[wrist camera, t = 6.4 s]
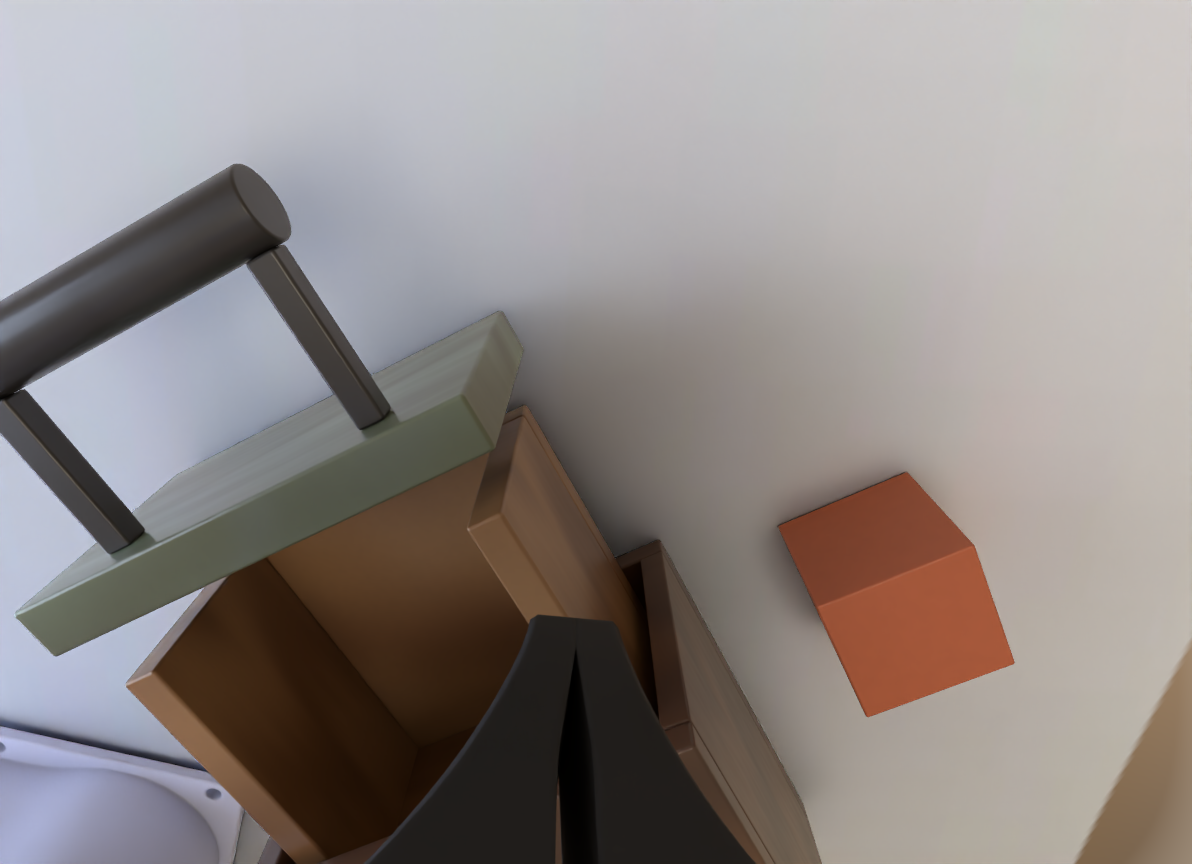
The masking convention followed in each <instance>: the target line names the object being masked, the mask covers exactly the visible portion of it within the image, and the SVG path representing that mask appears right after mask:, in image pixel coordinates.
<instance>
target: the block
mask: <svg viewBox="0 0 1192 864" xmlns="http://www.w3.org/2000/svg"><path fill="white" fill-rule="evenodd" d="M778 528H779V530H780V533H781V535H782V537H783V539H784V541H785V543H786V545H787V548H788V550H789V552H790V554H791V556H792V558H793V561H794V563H795V565H796V567H797V569H798V571H799V574H800V576H801V578H802V580H803V582H804V584H805V586H806V589H807V591H808V593H809V595H810V597H811V599H812V602H813V604H814V606H815V608H816V610H817V612H818V615H819V617H820V619H821V621H822V623H823V625H824V627H825V630H826V632H827V634H828V636H829V638H830V640H831V642H832V645H833V647H834V649H835V651H836V653H837V655H838V657H839V660H840V662H841V664H842V666H843V668H844V670H845V672H846V674H847V677H848V679H849V681H850V683H851V685H852V687H853V689H854V692H855V694H856V696H857V698H858V700H859V702H860V704H861V707H862V709H863V711H864V713H865V715H866V716H867V717H870V716H873V715H876V714H878V713H881V712H884V711H887V710H889V709H892V708H895V707H898V706H900V705H903V704H906V703H908V702H911V701H914V700H917V699H919V698H922V697H925V696H928V695H930V694H933V693H936V692H939V691H941V690H944V689H947V688H949V687H952V686H955V685H958V684H960V683H963V682H966V681H969V680H971V679H974V678H977V677H980V676H982V675H985V674H988V673H990V672H993V671H996V670H999V669H1001V668H1004V667H1007V666H1010V665H1012V664H1014V659H1013V656H1012V653H1011V650H1010V647H1009V645H1008V642H1007V639H1006V636H1005V633H1004V630H1003V627H1002V624H1001V621H1000V618H999V616H998V613H997V610H996V607H995V604H994V601H993V598H992V595H991V592H990V589H989V587H988V584H987V581H986V578H985V575H984V572H983V569H982V566H981V563H980V560H979V558H978V555H977V552H976V549H975V546H974V545H973V543H972V542H971V541H970V540H969V539H968V538H967V537H966V536H965V535H964V534H963V532H962V531H961V530H960V529H959V528H958V527H957V526H956V525H955V524H954V523H953V522H952V520H951V519H950V518H949V517H948V516H947V515H946V514H945V513H944V512H943V511H942V509H941V508H940V507H939V506H938V505H937V504H936V503H935V502H934V501H933V500H932V499H931V497H930V496H929V495H928V494H927V493H926V492H925V491H924V490H923V489H922V488H921V486H920V485H919V484H918V483H917V482H916V481H915V480H914V479H913V478H912V477H911V476H910V474H909V473H908V472H906V473H903V474H901V475H898V476H896V477H894V478H891V479H889V480H886V481H884V482H882V483H879V484H877V485H875V486H872V487H870V488H867V489H865V490H863V491H860V492H858V493H856V494H853V495H851V496H848V497H846V498H844V499H841V500H839V501H837V502H834V503H832V504H829V505H827V506H825V507H822V508H820V509H818V510H815V511H813V512H810V513H808V514H806V515H803V516H801V517H799V518H796V519H794V520H791V521H789V522H787V523H784V524H782V525H780V526H778Z"/></svg>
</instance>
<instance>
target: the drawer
mask: <svg viewBox="0 0 1192 864" xmlns="http://www.w3.org/2000/svg"><path fill="white" fill-rule="evenodd" d="M290 235H291V225H290V221H289V218H288V215H287V213H286V211H285V209H284V207H283V205H282V203H281V202H280V200H279V198H278V197H277V195H276V194H275V192H274V191H273V190H272V189H271V187H270V186H269V185H268V184H267V183H266V181H265V180H264V179H263V178H262V177H261V176H260V175H258V174H257V173H256V172H255V171H254V170H252V169H251V168H249V167H247V166H245V165H243V164H233V165H231V166H230V167H228V168H226V169H225V170H223V171H221V172H219V173H218V174H216V175H214V176H213V177H211V178H209V179H207V180H206V181H204V182H202V183H201V184H199V185H197V186H196V187H194V188H192V189H190V190H189V191H187V192H185V193H184V194H182V195H180V196H179V197H177V198H175V199H173V200H172V201H170V202H168V203H167V204H165V205H163V206H162V207H160V208H158V209H156V210H155V211H153V212H151V213H150V214H148V215H146V216H145V217H143V218H141V219H139V220H138V221H136V222H134V223H133V224H131V225H129V226H128V227H126V228H124V229H122V230H121V231H119V232H117V233H116V234H114V235H112V236H111V237H109V238H107V239H105V240H104V241H102V242H100V243H99V244H97V245H95V246H93V247H92V248H90V249H88V250H87V251H85V252H83V253H82V254H80V255H78V256H76V257H75V258H73V259H71V260H70V261H68V262H66V263H65V264H63V265H61V266H59V267H58V268H56V269H54V270H53V271H51V272H49V273H48V274H46V275H44V276H42V277H41V278H39V279H37V280H36V281H34V282H32V283H31V284H29V285H27V286H25V287H24V288H22V289H20V290H19V291H17V292H15V293H14V294H12V295H10V296H8V297H7V298H5V299H3V300H2V301H0V435H1V436H2V437H3V438H4V439H5V440H6V441H7V442H8V444H9V445H10V446H11V447H12V448H13V449H14V450H15V451H16V452H17V454H18V455H19V456H20V457H21V458H22V459H23V460H24V461H25V462H26V464H27V465H28V466H29V467H30V468H31V469H32V470H33V471H34V473H35V474H36V475H37V476H38V477H39V478H40V479H41V480H42V481H43V483H44V484H45V485H46V486H47V487H48V488H49V489H50V490H51V491H52V493H53V494H54V495H55V496H56V497H57V498H58V499H59V500H60V502H61V503H62V504H63V505H64V506H65V507H66V508H67V509H68V510H69V512H70V513H71V514H72V515H73V516H74V517H75V518H76V519H77V520H78V522H79V523H80V524H81V525H82V526H83V527H84V528H85V529H86V531H87V532H88V533H89V534H90V535H91V536H92V537H93V538H94V539H95V541H96V542H97V543H96V544H95V545H94V546H92V547H91V548H90V549H89V550H88V551H87V552H85V553H84V554H83V555H82V556H81V557H80V558H78V559H77V560H76V561H75V562H74V563H72V564H71V565H70V566H69V567H68V568H67V569H65V570H64V571H63V572H62V573H61V574H60V575H58V576H57V577H56V578H55V579H54V580H53V581H51V582H50V583H49V584H48V585H47V586H45V587H44V588H43V589H42V590H41V591H40V592H38V593H37V594H36V595H35V596H34V597H33V598H31V599H30V600H29V601H28V602H27V603H26V604H24V605H23V606H22V607H21V608H20V609H18V610H17V611H16V613H15V614H14V617H15V618H16V619H17V620H18V621H19V622H20V623H21V624H22V625H23V626H24V627H25V628H26V629H27V630H28V631H29V632H30V633H31V634H32V635H33V636H34V637H35V638H36V639H37V640H38V641H39V642H40V643H41V644H42V645H43V646H44V647H45V648H46V649H47V650H48V651H49V652H50V653H51V654H52V655H53V656H59V655H61V654H63V653H65V652H67V651H69V650H72V649H74V648H76V647H78V646H80V645H82V644H84V643H86V642H89V641H91V640H93V639H95V638H97V637H99V636H101V635H103V634H105V633H108V632H110V631H112V630H114V629H116V628H118V627H120V626H122V625H125V624H127V623H129V622H131V621H133V620H135V619H137V618H139V617H141V616H144V615H146V614H148V613H150V612H152V611H154V610H156V609H158V608H161V607H163V606H165V605H167V604H169V603H171V602H173V601H175V600H177V599H180V598H182V597H184V596H186V595H188V594H190V593H192V592H194V591H197V590H199V589H201V588H203V587H205V586H206V587H205V588H204V589H203V590H202V592H201V593H200V594H199V595H198V596H197V598H196V599H195V600H194V601H193V602H192V604H191V605H190V606H189V607H188V608H187V610H186V611H185V612H184V613H183V615H182V616H181V617H180V618H179V619H178V621H177V622H176V623H175V624H174V625H173V627H172V628H171V629H170V630H169V631H168V633H167V634H166V635H165V636H164V637H163V639H162V640H161V641H160V642H159V644H158V645H157V646H156V647H155V648H154V650H153V651H152V652H151V653H150V654H149V656H148V657H147V658H146V659H145V660H144V662H143V663H142V664H141V665H140V666H139V668H138V669H137V670H136V671H135V673H134V674H133V675H132V676H131V677H130V679H129V680H128V681H127V682H126V684H125V686H126V687H127V688H128V690H129V691H130V692H131V693H132V694H133V695H134V696H135V697H136V698H137V699H138V700H139V701H140V702H141V703H142V704H143V705H144V706H145V707H146V708H147V709H148V710H149V711H150V712H151V713H152V714H153V715H154V716H155V717H156V718H157V720H158V721H159V722H160V723H161V724H162V725H163V726H164V727H165V728H166V729H167V730H168V731H169V732H170V733H171V734H172V735H173V736H174V737H175V738H176V739H177V740H178V741H179V742H180V743H181V744H182V745H183V746H184V747H185V749H186V750H187V751H188V752H189V753H190V754H191V755H192V756H193V757H194V758H195V759H196V760H197V761H198V762H199V763H200V764H201V765H202V766H203V767H204V768H205V769H206V770H207V771H208V772H209V773H210V774H211V775H212V776H213V777H214V779H215V780H216V781H217V782H218V783H219V784H220V785H221V786H222V787H223V788H224V789H225V790H226V791H227V792H228V793H229V794H230V795H231V796H232V797H233V798H234V799H235V800H236V801H237V802H238V803H239V804H240V805H241V806H242V808H243V809H244V810H245V811H246V812H247V813H248V814H249V815H250V816H251V817H252V818H253V819H254V820H255V821H256V822H257V823H258V824H259V825H260V826H261V827H262V828H263V829H264V830H265V831H266V832H267V833H268V834H269V835H270V836H271V838H272V839H273V840H274V841H275V842H276V843H277V844H278V845H279V846H280V847H281V848H282V849H283V850H284V851H285V852H286V853H287V854H288V855H289V856H290V857H291V858H292V859H293V860H294V861H295V862H296V863H297V864H317V863H319V862H322V861H325V860H327V859H330V858H332V857H335V856H338V855H340V854H343V853H346V852H348V851H351V850H353V849H356V848H359V847H361V846H364V845H367V844H369V843H372V842H374V841H377V840H380V839H382V838H385V837H388V836H390V835H392V834H393V833H394V832H395V831H396V829H397V828H398V827H399V826H400V825H401V824H402V823H403V822H404V820H405V819H406V818H407V817H408V816H409V815H410V814H411V812H412V811H413V810H414V809H415V808H416V807H417V805H418V804H419V803H420V802H421V801H422V800H423V799H424V797H425V796H426V795H427V794H428V793H429V791H430V790H431V789H432V788H433V786H434V785H435V784H436V783H437V781H438V780H439V779H440V778H441V776H442V775H443V774H444V773H445V771H446V770H447V769H448V767H449V766H450V765H451V763H452V762H453V761H454V759H455V758H456V756H457V755H458V754H459V752H460V751H461V750H462V748H463V747H464V745H465V744H466V742H467V741H468V739H469V738H470V736H471V735H472V733H473V732H474V730H475V729H476V727H477V726H478V724H479V723H480V721H481V720H482V718H483V717H484V715H485V714H486V712H487V711H488V709H489V707H490V706H491V704H492V702H493V701H494V699H495V697H496V695H497V694H498V692H499V690H500V688H501V686H502V685H503V683H504V681H505V679H506V677H507V676H508V674H509V672H510V670H511V668H512V666H513V664H514V662H515V660H516V658H517V656H518V654H519V651H520V649H521V647H522V644H523V642H524V639H525V636H526V633H527V631H528V627H529V622H530V619H532V618H533V617H535V616H536V615H538V614H539V615H550V616H561V617H572V618H583V619H594V620H605V621H613V622H614V623H615V624H616V626H617V627H618V628H619V631H620V635H621V638H622V641H623V643H624V646H625V649H626V651H627V654H628V657H629V659H630V661H631V664H632V666H633V668H634V671H635V673H636V675H637V677H638V680H639V682H640V684H641V686H642V688H643V690H644V692H645V695H646V697H647V698H648V700H649V702H650V704H651V706H652V708H653V710H654V712H655V714H656V716H657V718H658V720H659V712H658V704H657V695H656V687H655V678H654V670H653V661H652V653H651V645H650V636H649V628H648V619H647V613H646V611H645V609H644V608H643V606H642V604H641V603H640V601H639V599H638V597H637V596H636V594H635V592H634V590H633V589H632V587H631V585H630V583H629V582H628V580H627V578H626V576H625V575H624V573H623V571H622V570H621V568H620V566H619V564H618V563H617V561H616V559H615V557H614V556H613V554H612V552H611V550H610V549H609V547H608V545H607V544H606V542H605V540H604V538H603V537H602V535H601V533H600V531H599V530H598V528H597V526H596V524H595V523H594V521H593V519H592V517H591V516H590V514H589V512H588V511H587V509H586V507H585V505H584V504H583V502H582V500H581V498H580V497H579V495H578V493H577V491H576V490H575V488H574V486H573V485H572V483H571V481H570V479H569V478H568V476H567V474H566V472H565V471H564V469H563V467H562V465H561V464H560V462H559V460H558V458H557V457H556V455H555V453H554V452H553V450H552V448H551V446H550V445H549V443H548V441H547V439H546V438H545V436H544V434H543V432H542V431H541V429H540V427H539V425H538V424H537V422H536V420H535V419H534V417H533V415H532V413H531V412H530V410H529V408H528V407H527V406H526V405H523V406H521V407H519V408H517V409H515V410H512V411H510V412H508V413H506V410H507V406H508V403H509V399H510V396H511V392H512V389H513V385H514V382H515V378H516V375H517V371H518V368H519V365H520V361H521V358H522V354H523V347H522V345H521V343H520V342H519V340H518V338H517V336H516V334H515V333H514V331H513V329H512V327H511V325H510V324H509V322H508V320H507V318H506V316H505V315H504V313H503V312H502V311H498V312H496V313H494V314H492V315H490V316H488V317H486V318H484V319H482V320H480V321H478V322H476V323H474V324H472V325H470V326H468V327H466V328H464V329H462V330H460V331H458V332H456V333H454V334H452V335H450V336H449V337H447V338H445V339H443V340H441V341H439V342H437V343H435V344H433V345H431V346H429V347H427V348H425V349H423V350H421V351H419V352H417V353H415V354H413V355H411V356H409V357H407V358H405V359H403V360H401V361H399V362H397V363H395V364H393V365H391V366H389V367H387V368H386V369H384V370H382V371H380V372H378V373H376V374H374V375H372V376H371V375H370V374H369V372H368V371H367V369H366V368H365V366H364V365H363V363H362V362H361V360H360V359H359V357H358V355H357V354H356V352H355V351H354V349H353V348H352V346H351V345H350V343H349V342H348V340H347V339H346V337H345V336H344V334H343V333H342V331H341V330H340V328H339V326H338V325H337V323H336V322H335V320H334V319H333V317H332V316H331V314H330V313H329V311H328V310H327V308H326V307H325V305H324V304H323V302H322V301H321V299H320V297H319V296H318V294H317V293H316V291H315V290H314V288H313V287H312V285H311V284H310V282H309V281H308V279H307V278H306V276H305V275H304V273H303V272H302V270H301V269H300V267H299V265H298V264H297V262H296V261H295V259H294V258H293V256H292V255H291V253H290V252H289V250H288V249H287V247H286V246H285V245H280V244H282V243H283V242H285V241H287V240H288V239H289V237H290ZM278 245H279V246H278ZM276 246H277V247H276ZM246 263H247V264H246ZM244 264H246V265H247V267H248V269H249V270H250V272H251V273H252V275H253V276H254V278H255V279H256V281H257V282H258V284H259V285H260V286H261V288H262V289H263V291H264V292H265V294H266V295H267V297H268V298H269V300H270V301H271V303H272V304H273V306H274V307H275V308H276V310H277V311H278V313H279V314H280V316H281V317H282V319H283V320H284V322H285V323H286V325H287V326H288V327H289V329H290V330H291V332H292V333H293V335H294V336H295V338H296V339H297V341H298V342H299V344H300V345H301V346H302V348H303V349H304V351H305V352H306V354H307V355H308V357H309V358H310V360H311V361H312V363H313V364H314V366H315V367H316V368H317V370H318V371H319V373H320V374H321V376H322V377H323V379H324V380H325V382H326V383H327V385H328V386H329V387H330V389H331V390H332V392H333V393H334V395H332V396H330V397H328V398H326V399H325V400H323V401H321V402H319V403H317V404H315V405H313V406H311V407H309V408H307V409H305V410H303V411H301V412H299V413H297V414H295V415H293V416H291V417H289V418H287V419H285V420H283V421H281V422H279V423H277V424H275V425H273V426H271V427H269V428H267V429H265V430H264V431H262V432H260V433H258V434H256V435H254V436H252V437H250V438H248V439H246V440H244V441H242V442H240V443H238V444H236V445H234V446H232V447H230V448H228V449H226V450H224V451H222V452H220V453H218V454H216V455H214V456H212V457H210V458H208V459H206V460H204V461H202V462H201V463H199V464H197V465H195V466H193V467H191V468H189V469H187V470H185V471H183V472H181V473H179V474H177V475H176V476H175V477H173V478H172V479H171V480H170V481H169V482H167V483H166V484H165V485H164V486H163V487H162V488H160V489H159V490H158V491H157V492H156V493H155V494H153V495H152V496H151V497H150V498H149V499H148V500H146V501H145V502H144V503H143V504H142V505H141V506H139V507H138V508H137V509H136V510H135V511H133V512H132V513H131V512H130V510H129V509H128V508H127V507H126V506H125V505H124V504H123V502H122V501H121V500H120V499H119V498H118V497H117V495H116V494H115V493H114V492H113V491H112V490H111V488H110V487H109V486H108V485H107V484H106V483H105V481H104V480H103V479H102V478H101V477H100V476H99V474H98V473H97V472H96V471H95V470H94V469H93V467H92V466H91V465H90V464H89V463H88V462H87V460H86V459H85V458H84V457H83V456H82V455H81V453H80V452H79V451H78V450H77V449H76V448H75V446H74V445H73V444H72V443H71V442H70V441H69V439H68V438H67V437H66V436H65V435H64V434H63V432H62V431H61V430H60V429H59V428H58V427H57V425H56V424H55V423H54V422H53V421H52V420H51V419H50V417H49V416H48V415H47V414H46V413H45V412H44V410H43V409H42V408H41V407H40V406H39V405H38V403H37V402H36V401H35V400H34V399H33V398H32V396H31V395H30V394H29V393H28V392H27V391H26V390H20V389H22V388H23V387H25V386H27V385H29V384H31V383H32V382H34V381H36V380H38V379H40V378H41V377H43V376H45V375H47V374H49V373H50V372H52V371H54V370H56V369H58V368H59V367H61V366H63V365H65V364H66V363H68V362H70V361H72V360H74V359H75V358H77V357H79V356H81V355H83V354H84V353H86V352H88V351H90V350H92V349H93V348H95V347H97V346H99V345H101V344H102V343H104V342H106V341H108V340H110V339H111V338H113V337H115V336H117V335H118V334H120V333H122V332H124V331H126V330H127V329H129V328H131V327H133V326H135V325H136V324H138V323H140V322H142V321H144V320H145V319H147V318H149V317H151V316H153V315H154V314H156V313H158V312H160V311H162V310H163V309H165V308H167V307H169V306H170V305H172V304H174V303H176V302H178V301H179V300H181V299H183V298H185V297H187V296H188V295H190V294H192V293H194V292H196V291H197V290H199V289H201V288H203V287H205V286H206V285H208V284H210V283H212V282H214V281H215V280H217V279H219V278H221V277H222V276H224V275H226V274H228V273H230V272H231V271H233V270H235V269H237V268H239V267H240V266H242V265H244ZM18 390H19V391H18ZM16 391H17V392H16ZM14 392H15V393H14ZM505 413H506V414H505ZM659 722H660V721H659Z"/></svg>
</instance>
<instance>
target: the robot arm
mask: <svg viewBox="0 0 1192 864" xmlns="http://www.w3.org/2000/svg"><path fill="white" fill-rule="evenodd" d="M558 778H559V801H560V828H561V854H562V864H756V863H755V862H754V860H753V859H752V858H751V857H750V856H749V855H748V853H747V852H746V851H745V850H744V848H743V847H742V846H741V844H740V843H739V842H738V840H737V839H736V838H735V837H734V835H733V834H732V833H731V831H730V830H729V829H728V827H727V826H726V825H725V824H724V822H723V821H722V820H721V818H720V817H719V815H718V814H717V813H716V811H715V810H714V808H713V807H712V806H711V804H710V803H709V801H708V800H707V799H706V797H705V796H704V794H703V793H702V791H701V790H700V788H699V787H698V785H697V784H696V782H695V781H694V779H693V778H692V776H691V774H690V773H689V771H688V770H687V768H686V767H685V765H684V763H683V762H682V760H681V758H680V757H679V755H678V753H677V752H676V750H675V748H674V747H673V745H672V743H671V742H670V740H669V738H668V736H667V734H666V733H665V731H664V729H663V727H662V726H661V724H660V722H659V720H658V718H657V716H656V714H655V712H654V710H653V708H652V706H651V704H650V702H649V700H648V698H647V697H646V695H645V692H644V690H643V688H642V686H641V684H640V682H639V680H638V677H637V675H636V673H635V671H634V668H633V666H632V664H631V661H630V659H629V657H628V654H627V651H626V649H625V646H624V643H623V641H622V638H621V635H620V631H619V628H618V627H617V626H616V624H615V623H614V622H613V621H605V620H594V619H583V618H572V617H561V616H550V615H539V614H538V615H536V616H535V617H533V618H532V619H530V622H529V627H528V631H527V633H526V636H525V639H524V642H523V644H522V647H521V649H520V651H519V654H518V656H517V658H516V660H515V662H514V664H513V666H512V668H511V670H510V672H509V674H508V676H507V677H506V679H505V681H504V683H503V685H502V686H501V688H500V690H499V692H498V694H497V695H496V697H495V699H494V701H493V702H492V704H491V706H490V707H489V709H488V711H487V712H486V714H485V715H484V717H483V718H482V720H481V721H480V723H479V724H478V726H477V727H476V729H475V730H474V732H473V733H472V735H471V736H470V738H469V739H468V741H467V742H466V744H465V745H464V747H463V748H462V750H461V751H460V752H459V754H458V755H457V756H456V758H455V759H454V761H453V762H452V763H451V765H450V766H449V767H448V769H447V770H446V771H445V773H444V774H443V775H442V776H441V778H440V779H439V780H438V781H437V783H436V784H435V785H434V786H433V788H432V789H431V790H430V791H429V793H428V794H427V795H426V796H425V797H424V799H423V800H422V801H421V802H420V803H419V804H418V805H417V807H416V808H415V809H414V810H413V811H412V812H411V814H410V815H409V816H408V817H407V818H406V819H405V820H404V822H403V823H402V824H401V825H400V826H399V827H398V828H397V829H396V831H395V832H394V833H393V834H392V835H391V836H390V837H389V838H388V839H387V840H386V841H385V842H384V843H383V844H382V846H381V847H380V848H379V849H378V850H377V851H376V852H375V853H374V854H373V855H372V856H371V857H370V858H369V859H368V860H367V861H366V862H364V863H363V864H555V852H556V808H557V785H558ZM243 812H244V809H243V808H242V806H241V805H240V804H239V803H238V802H237V801H236V800H235V799H234V798H233V797H232V796H231V795H230V794H229V793H228V792H227V791H226V790H225V789H224V788H223V787H222V786H221V785H220V784H219V783H218V782H217V781H216V780H215V779H214V777H213V776H212V775H211V774H210V773H209V772H204V771H200V770H195V769H191V768H186V767H182V766H177V765H173V764H168V763H164V762H159V761H155V760H150V759H146V758H141V757H137V756H132V755H128V754H123V753H119V752H114V751H110V750H105V749H101V748H96V747H92V746H87V745H83V744H78V743H74V742H69V741H65V740H60V739H56V738H51V737H47V736H42V735H38V734H33V733H29V732H24V731H20V730H15V729H11V728H6V727H2V726H0V864H233V862H234V857H235V852H236V847H237V842H238V837H239V832H240V827H241V822H242V817H243Z"/></svg>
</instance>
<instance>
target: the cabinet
mask: <svg viewBox="0 0 1192 864" xmlns="http://www.w3.org/2000/svg"><path fill="white" fill-rule="evenodd" d="M615 559H616V561H617V563H618V564H619V566H620V568H621V570H622V571H623V573H624V575H625V576H626V578H627V580H628V582H629V583H630V585H631V587H632V589H633V590H634V592H635V594H636V596H637V597H638V599H639V601H640V603H641V604H642V606H643V608H644V609H645V611H646V613H647V619H648V628H649V636H650V645H651V653H652V661H653V670H654V678H655V687H656V695H657V704H658V712H659V721H660V724H661V726H662V727H663V729H664V731H665V733H666V734H667V736H668V738H669V740H670V742H671V743H672V745H673V747H674V748H675V750H676V752H677V753H678V755H679V757H680V758H681V760H682V762H683V763H684V765H685V767H686V768H687V770H688V771H689V773H690V774H691V776H692V778H693V779H694V781H695V782H696V784H697V785H698V787H699V788H700V790H701V791H702V793H703V794H704V796H705V797H706V799H707V800H708V801H709V803H710V804H711V806H712V807H713V808H714V810H715V811H716V813H717V814H718V815H719V817H720V818H721V820H722V821H723V822H724V824H725V825H726V826H727V827H728V829H729V830H730V831H731V833H732V834H733V835H734V837H735V838H736V839H737V840H738V842H739V843H740V844H741V846H742V847H743V848H744V850H745V851H746V852H747V853H748V855H749V856H750V857H751V858H752V859H753V860H754V862H755V863H756V864H822V862H821V859H820V856H819V852H818V849H817V846H816V843H815V840H814V837H813V833H812V830H811V827H810V824H809V821H808V819H807V815H806V812H805V808H804V805H803V803H802V801H801V799H800V798H799V796H798V794H797V792H796V790H795V788H794V786H793V785H792V783H791V781H790V779H789V777H788V775H787V774H786V772H785V770H784V768H783V766H782V764H781V762H780V761H779V759H778V757H777V755H776V753H775V751H774V750H773V748H772V746H771V744H770V742H769V740H768V738H767V737H766V735H765V733H764V731H763V729H762V727H761V726H760V724H759V722H758V720H757V718H756V716H755V714H754V713H753V711H752V709H751V707H750V705H749V703H748V702H747V700H746V698H745V696H744V694H743V692H742V690H741V689H740V687H739V685H738V683H737V681H736V679H735V677H734V676H733V674H732V672H731V670H730V668H729V666H728V665H727V663H726V661H725V659H724V657H723V655H722V653H721V652H720V650H719V648H718V646H717V644H716V642H715V641H714V639H713V637H712V635H711V633H710V631H709V629H708V628H707V626H706V624H705V622H704V620H703V618H702V617H701V615H700V613H699V611H698V609H697V607H696V605H695V604H694V602H693V600H692V598H691V596H690V594H689V592H688V591H687V589H686V587H685V585H684V583H683V581H682V580H681V578H680V576H679V574H678V572H677V570H676V568H675V567H674V565H673V563H672V561H671V559H670V557H669V556H668V554H667V552H666V550H665V548H664V546H663V544H662V543H661V541H660V540H656V541H654V542H652V543H649V544H647V545H645V546H643V547H640V548H638V549H636V550H633V551H631V552H629V553H626V554H624V555H622V556H619V557H617V558H615ZM390 836H391V835H390ZM390 836H388V837H385V838H382V839H380V840H377V841H374V842H372V843H369V844H367V845H364V846H361V847H359V848H356V849H353V850H351V851H348V852H346V853H343V854H340V855H338V856H335V857H332V858H330V859H327V860H325V861H322V862H319V863H317V864H363V863H364V862H366V861H367V860H368V859H369V858H370V857H371V856H372V855H373V854H374V853H375V852H376V851H377V850H378V849H379V848H380V847H381V846H382V844H383V843H384V842H385V841H386V840H387V839H388V838H389V837H390ZM258 864H297V863H296V862H295V861H294V860H293V859H292V858H291V857H290V856H289V855H288V854H287V853H286V852H285V851H284V850H283V849H282V848H281V847H280V846H279V845H278V844H277V843H276V842H275V841H274V840H273V839H272V838H271V836H270V837H269V839H268V842H267V844H266V846H265V848H264V851H263V853H262V855H261V857H260V860H259V862H258ZM555 864H562V854H561V828H560V801H559V778H558V785H557V808H556V852H555Z"/></svg>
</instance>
